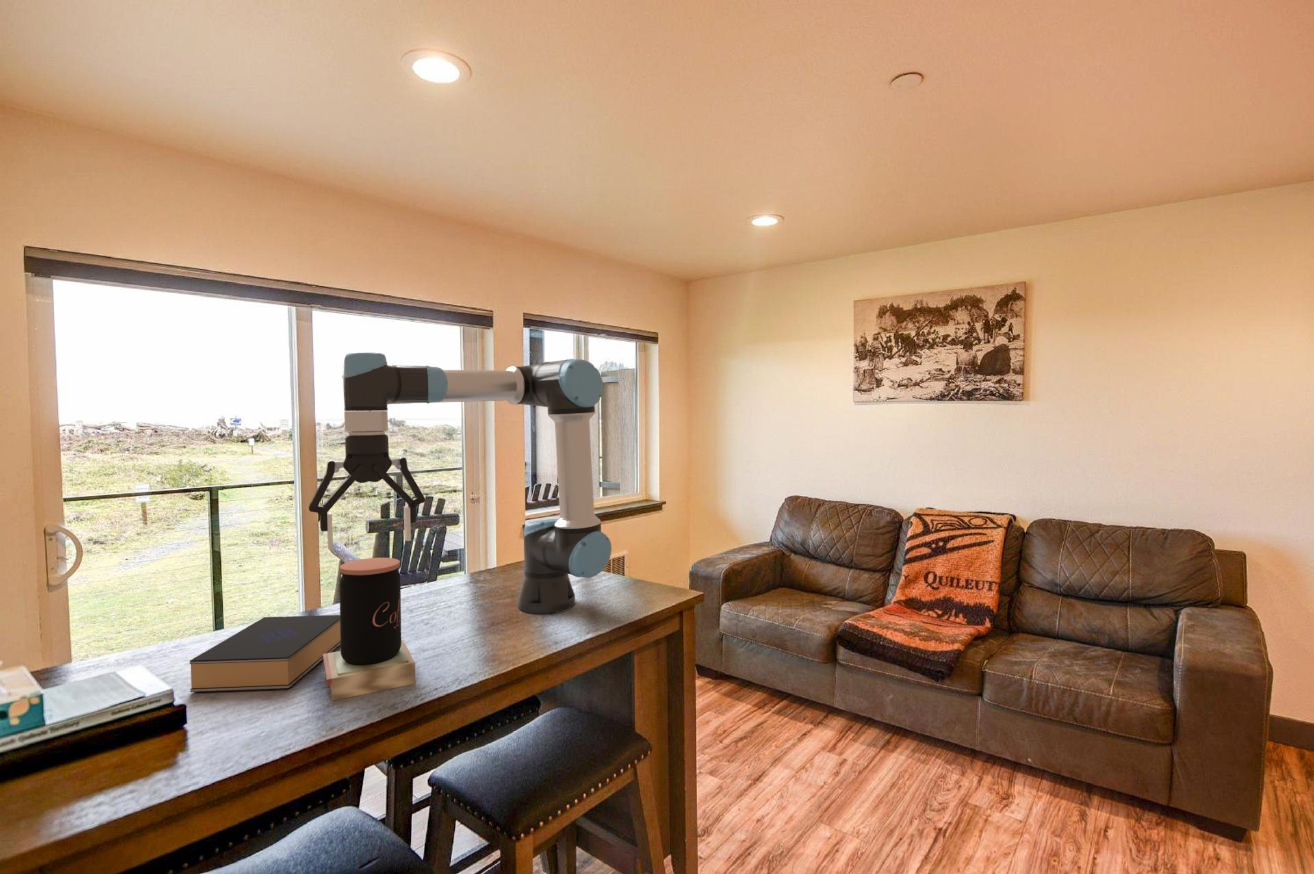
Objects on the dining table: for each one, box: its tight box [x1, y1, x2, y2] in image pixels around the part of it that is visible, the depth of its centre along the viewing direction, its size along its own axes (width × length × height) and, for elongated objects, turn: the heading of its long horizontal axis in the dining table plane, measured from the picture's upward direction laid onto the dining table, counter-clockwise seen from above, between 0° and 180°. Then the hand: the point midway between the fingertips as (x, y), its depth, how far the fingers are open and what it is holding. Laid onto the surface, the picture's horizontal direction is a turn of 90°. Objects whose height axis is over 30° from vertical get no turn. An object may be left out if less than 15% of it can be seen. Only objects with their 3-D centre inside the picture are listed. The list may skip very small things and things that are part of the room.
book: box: [189, 614, 341, 693], centre depth 127 cm, size 17×25×7 cm
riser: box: [322, 639, 416, 702], centre depth 120 cm, size 15×14×4 cm
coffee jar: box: [339, 557, 402, 665], centre depth 120 cm, size 11×11×18 cm
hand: (370, 544), depth 120 cm, fingers open, 13 cm apart
